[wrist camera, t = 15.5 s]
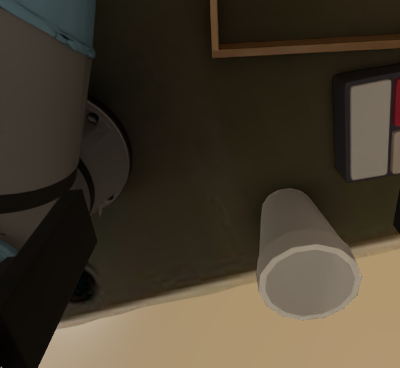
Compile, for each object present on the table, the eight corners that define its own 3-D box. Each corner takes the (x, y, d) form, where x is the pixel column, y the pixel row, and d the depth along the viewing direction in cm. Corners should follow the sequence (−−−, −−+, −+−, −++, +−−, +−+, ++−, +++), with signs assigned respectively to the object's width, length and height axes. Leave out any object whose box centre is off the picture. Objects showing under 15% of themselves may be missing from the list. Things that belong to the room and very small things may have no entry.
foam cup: (337, 186, 43) (379, 257, 32) (309, 246, 48) (337, 327, 36) (261, 169, 43) (276, 235, 31) (239, 231, 47) (246, 309, 36)
